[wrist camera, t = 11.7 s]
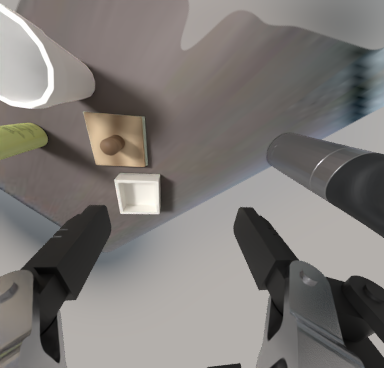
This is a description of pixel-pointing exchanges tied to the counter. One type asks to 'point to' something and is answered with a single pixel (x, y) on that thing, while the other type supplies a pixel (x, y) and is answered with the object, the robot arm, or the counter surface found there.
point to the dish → (138, 193)
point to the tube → (20, 139)
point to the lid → (116, 139)
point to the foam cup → (37, 66)
